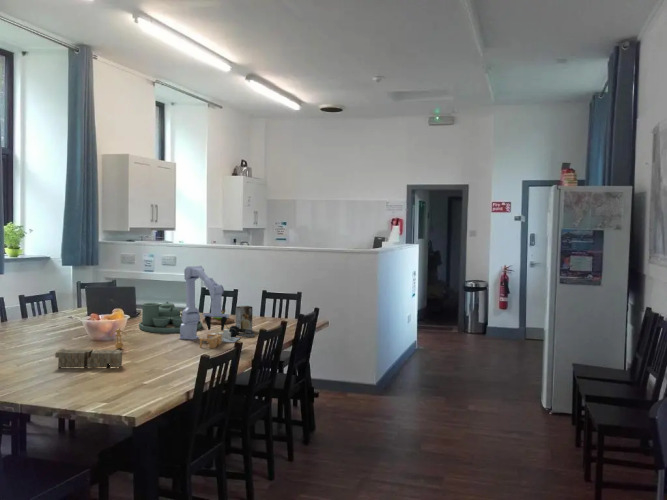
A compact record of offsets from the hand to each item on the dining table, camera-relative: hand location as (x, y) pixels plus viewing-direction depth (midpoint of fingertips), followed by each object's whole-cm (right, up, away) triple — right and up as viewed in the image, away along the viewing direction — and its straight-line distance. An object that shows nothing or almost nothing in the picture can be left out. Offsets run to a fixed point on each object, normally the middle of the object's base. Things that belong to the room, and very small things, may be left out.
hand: (215, 329), depth 331 cm
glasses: (-3, -9, +1) cm, 9 cm away
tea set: (-40, -6, +53) cm, 67 cm away
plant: (-14, -6, +77) cm, 79 cm away
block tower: (-49, -11, -53) cm, 73 cm away
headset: (+8, -8, +32) cm, 34 cm away
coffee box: (+9, -7, +48) cm, 49 cm away
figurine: (-50, -9, -16) cm, 53 cm away
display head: (+1, -8, +16) cm, 18 cm away
